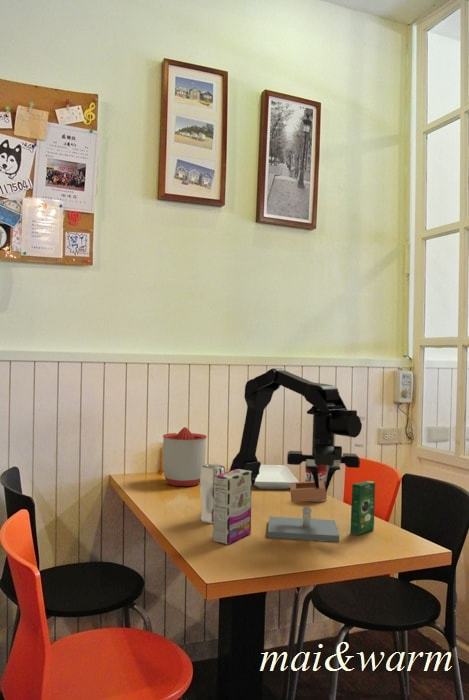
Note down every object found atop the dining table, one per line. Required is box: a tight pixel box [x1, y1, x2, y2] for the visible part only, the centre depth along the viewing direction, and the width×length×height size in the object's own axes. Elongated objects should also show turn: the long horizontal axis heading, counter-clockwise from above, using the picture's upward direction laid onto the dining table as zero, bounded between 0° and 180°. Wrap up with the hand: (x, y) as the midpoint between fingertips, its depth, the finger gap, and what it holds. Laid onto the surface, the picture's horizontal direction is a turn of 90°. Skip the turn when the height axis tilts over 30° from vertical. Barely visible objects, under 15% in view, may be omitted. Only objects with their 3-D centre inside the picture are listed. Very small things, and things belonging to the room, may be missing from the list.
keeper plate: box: [267, 505, 340, 543], centre depth 153 cm, size 18×14×7 cm
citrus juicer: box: [162, 426, 207, 487], centre depth 206 cm, size 16×17×20 cm
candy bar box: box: [212, 469, 253, 546], centre depth 146 cm, size 11×5×16 cm, turn 148°
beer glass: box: [199, 463, 226, 525], centre depth 161 cm, size 7×7×15 cm
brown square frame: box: [289, 481, 327, 503], centre depth 153 cm, size 9×9×3 cm
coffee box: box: [349, 480, 376, 536], centre depth 155 cm, size 8×3×13 cm, turn 136°
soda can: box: [304, 464, 328, 503], centre depth 188 cm, size 7×7×12 cm
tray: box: [253, 464, 299, 490], centre depth 214 cm, size 17×31×4 cm, turn 4°
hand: (321, 491), depth 153 cm, fingers closed on brown square frame, 2 cm apart
